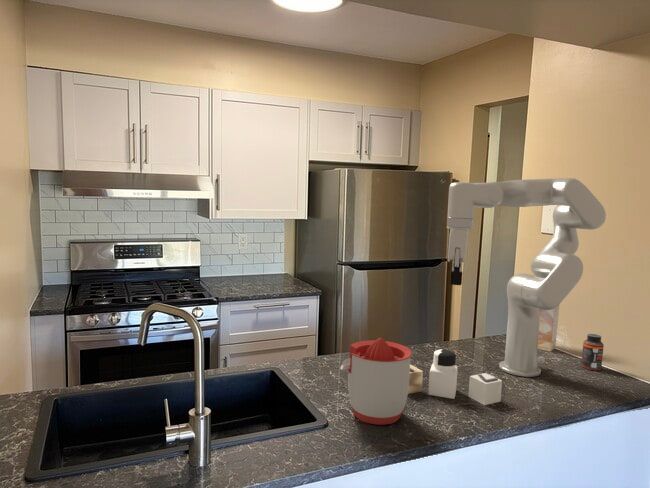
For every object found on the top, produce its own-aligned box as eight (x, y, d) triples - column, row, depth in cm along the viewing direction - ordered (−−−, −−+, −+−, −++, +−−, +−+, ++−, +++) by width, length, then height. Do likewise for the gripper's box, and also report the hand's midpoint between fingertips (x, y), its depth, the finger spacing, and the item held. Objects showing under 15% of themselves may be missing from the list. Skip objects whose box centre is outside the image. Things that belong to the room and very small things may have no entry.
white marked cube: (484, 393, 136) (485, 372, 135) (500, 401, 130) (502, 379, 130) (468, 396, 133) (469, 375, 132) (484, 405, 127) (486, 382, 127)
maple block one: (408, 383, 141) (409, 363, 140) (421, 391, 135) (422, 370, 135) (392, 386, 138) (393, 365, 137) (404, 394, 132) (405, 373, 132)
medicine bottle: (456, 389, 137) (458, 349, 136) (454, 399, 130) (457, 357, 129) (431, 385, 139) (433, 346, 138) (428, 395, 133) (430, 353, 131)
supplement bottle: (599, 372, 155) (602, 339, 154) (579, 368, 159) (582, 335, 158) (603, 368, 160) (606, 335, 159) (583, 363, 164) (586, 331, 162)
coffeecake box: (509, 342, 185) (513, 293, 183) (515, 339, 190) (519, 291, 188) (550, 352, 175) (555, 300, 173) (556, 347, 180) (560, 297, 178)
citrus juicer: (338, 400, 127) (341, 327, 125) (403, 403, 127) (407, 330, 125) (338, 428, 112) (341, 346, 110) (412, 432, 111) (417, 349, 109)
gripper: (448, 222, 150) (444, 279, 152) (445, 224, 136) (441, 287, 138) (473, 223, 148) (469, 281, 150) (472, 226, 133) (468, 290, 135)
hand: (456, 284), depth 144 cm, fingers closed
